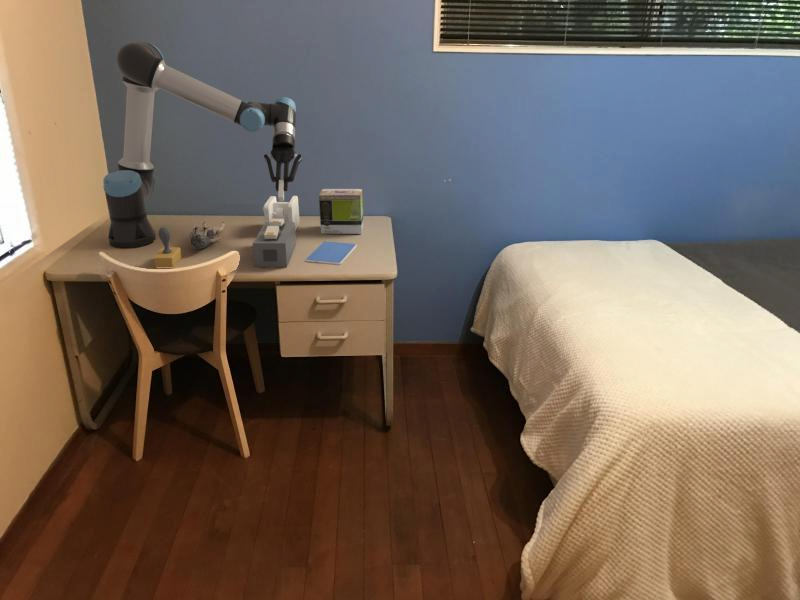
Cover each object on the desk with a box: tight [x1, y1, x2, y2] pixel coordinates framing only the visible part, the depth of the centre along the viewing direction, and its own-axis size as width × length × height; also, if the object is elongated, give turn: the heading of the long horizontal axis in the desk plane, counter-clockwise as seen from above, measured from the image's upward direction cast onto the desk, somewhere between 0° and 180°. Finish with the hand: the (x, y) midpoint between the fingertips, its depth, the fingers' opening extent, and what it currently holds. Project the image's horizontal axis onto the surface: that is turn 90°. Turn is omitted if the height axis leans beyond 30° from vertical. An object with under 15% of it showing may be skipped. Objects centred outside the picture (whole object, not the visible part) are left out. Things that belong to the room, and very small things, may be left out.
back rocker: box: [270, 219, 284, 226], centre depth 203 cm, size 4×6×2 cm, turn 1°
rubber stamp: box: [153, 226, 183, 268], centre depth 193 cm, size 10×6×12 cm, turn 4°
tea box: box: [318, 188, 364, 235], centre depth 224 cm, size 15×10×15 cm, turn 89°
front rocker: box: [264, 226, 279, 239], centre depth 194 cm, size 4×6×2 cm, turn 1°
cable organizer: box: [262, 195, 300, 232], centre depth 225 cm, size 15×11×12 cm
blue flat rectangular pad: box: [304, 240, 358, 266], centre depth 205 cm, size 19×13×1 cm, turn 167°
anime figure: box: [189, 220, 226, 250], centre depth 213 cm, size 10×7×30 cm
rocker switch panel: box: [252, 221, 297, 268], centre depth 200 cm, size 10×22×8 cm, turn 1°
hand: (281, 198), depth 205 cm, fingers closed
